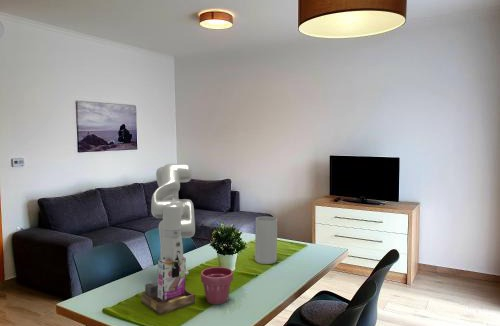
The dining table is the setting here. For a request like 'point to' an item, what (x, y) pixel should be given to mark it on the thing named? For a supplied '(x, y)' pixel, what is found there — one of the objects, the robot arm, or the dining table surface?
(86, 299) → the dining table surface
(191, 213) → the robot arm
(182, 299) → the tray
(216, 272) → the plant pot
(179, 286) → the candy bar box
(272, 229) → the cylinder vase
